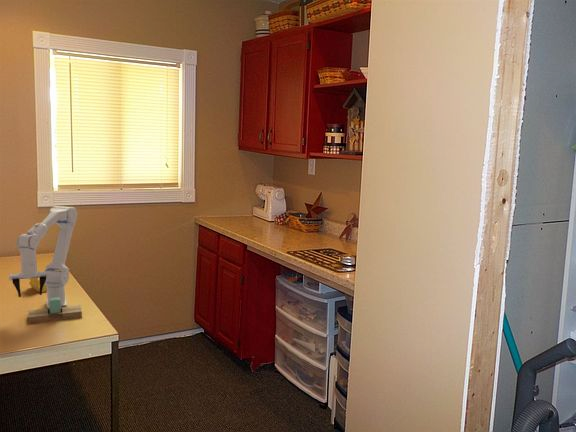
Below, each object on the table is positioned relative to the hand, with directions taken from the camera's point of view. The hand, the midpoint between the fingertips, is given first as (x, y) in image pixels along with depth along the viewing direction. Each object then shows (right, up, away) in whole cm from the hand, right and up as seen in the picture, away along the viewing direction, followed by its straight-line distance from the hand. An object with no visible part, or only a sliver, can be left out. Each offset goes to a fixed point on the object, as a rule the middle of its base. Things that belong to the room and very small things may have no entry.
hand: (30, 295), depth 213 cm
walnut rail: (+9, -9, +3) cm, 13 cm away
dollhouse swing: (-13, -3, +38) cm, 40 cm away
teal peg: (+9, -10, +3) cm, 13 cm away
